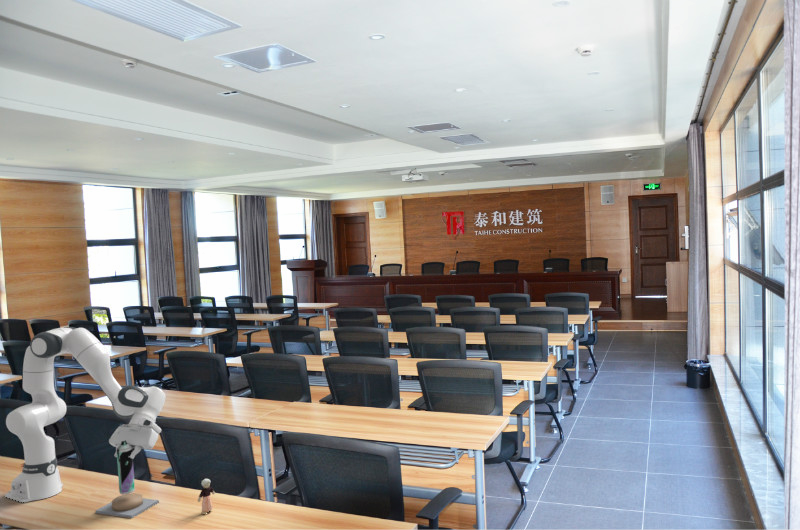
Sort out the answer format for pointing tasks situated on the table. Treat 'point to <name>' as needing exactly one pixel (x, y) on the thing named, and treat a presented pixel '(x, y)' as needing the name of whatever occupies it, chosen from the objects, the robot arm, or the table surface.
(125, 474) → the spray can
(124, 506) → the display stand
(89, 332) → the robot arm
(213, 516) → the table surface
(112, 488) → the table surface
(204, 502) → the grandmother figurine
